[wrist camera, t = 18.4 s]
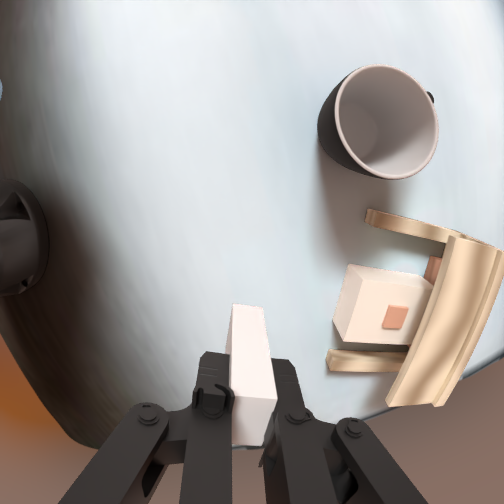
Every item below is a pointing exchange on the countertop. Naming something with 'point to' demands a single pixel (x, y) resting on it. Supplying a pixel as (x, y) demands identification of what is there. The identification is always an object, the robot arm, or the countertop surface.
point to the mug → (379, 123)
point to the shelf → (436, 316)
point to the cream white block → (380, 305)
